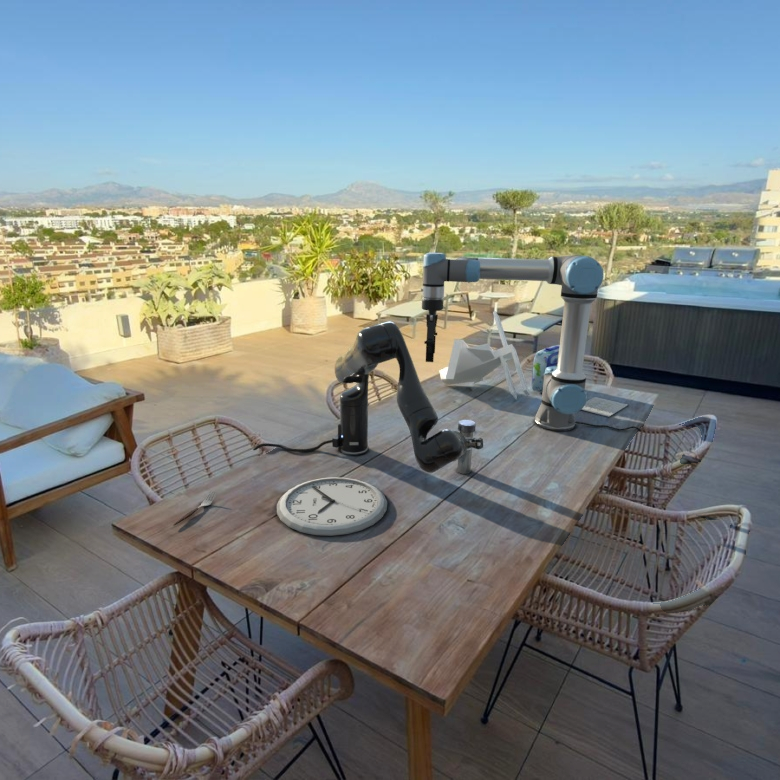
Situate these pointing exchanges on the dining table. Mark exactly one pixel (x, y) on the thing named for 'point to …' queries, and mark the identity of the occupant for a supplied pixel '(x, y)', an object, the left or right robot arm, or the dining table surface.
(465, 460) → the silver metal cylinder
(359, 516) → the wall clock
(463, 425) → the lid
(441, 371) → the white plastic object
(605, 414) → the invitation card
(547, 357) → the lunch box
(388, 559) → the dining table surface
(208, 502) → the fork
